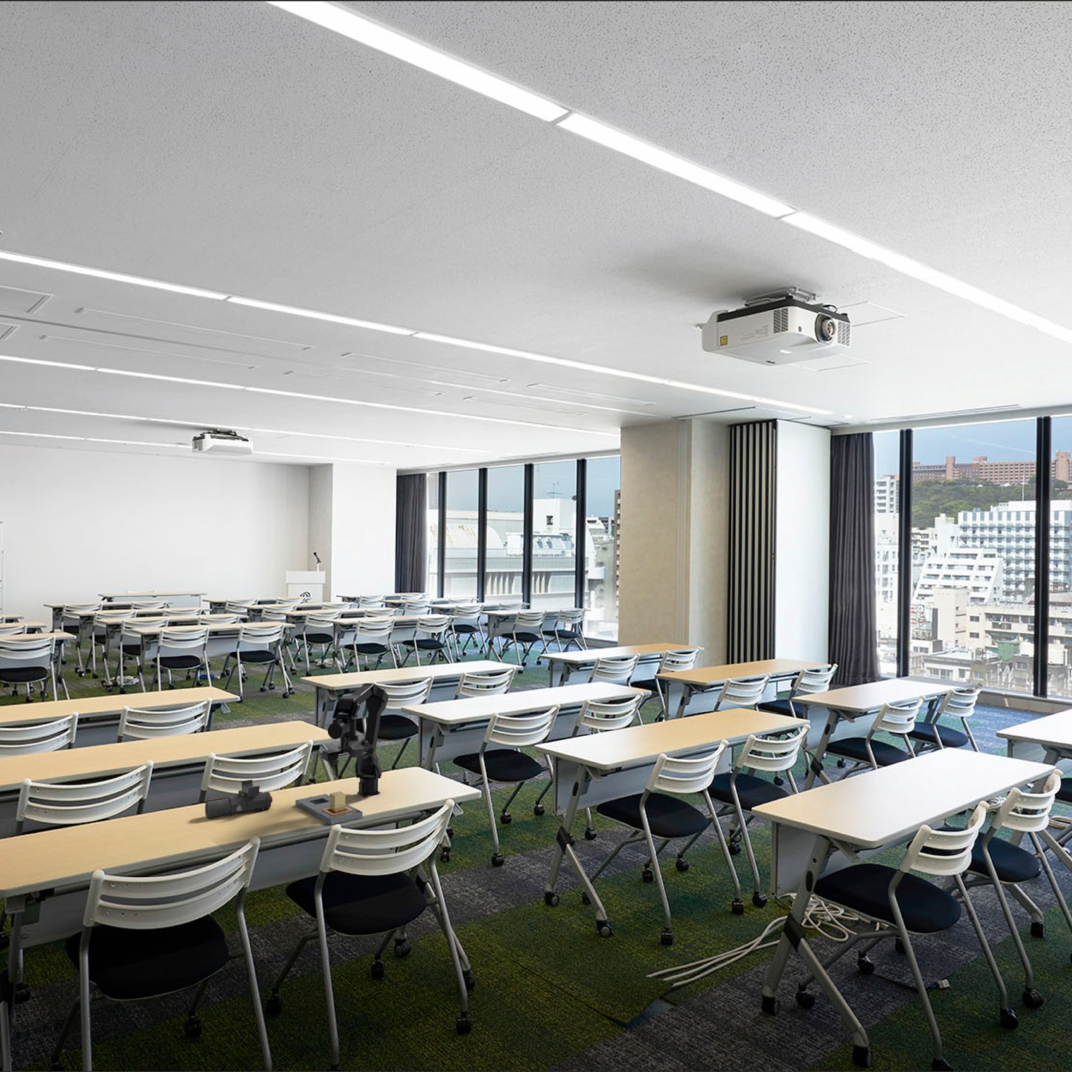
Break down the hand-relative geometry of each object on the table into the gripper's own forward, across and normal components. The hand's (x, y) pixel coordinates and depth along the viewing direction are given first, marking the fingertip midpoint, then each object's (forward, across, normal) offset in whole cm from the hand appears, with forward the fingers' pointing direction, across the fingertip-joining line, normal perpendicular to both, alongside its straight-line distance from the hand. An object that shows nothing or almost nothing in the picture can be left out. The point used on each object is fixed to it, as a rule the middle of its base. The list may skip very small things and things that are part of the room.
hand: (348, 775), depth 307 cm
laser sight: (+12, -32, +19) cm, 40 cm away
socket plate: (+12, -8, 0) cm, 14 cm away
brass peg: (+12, -8, -7) cm, 16 cm away
